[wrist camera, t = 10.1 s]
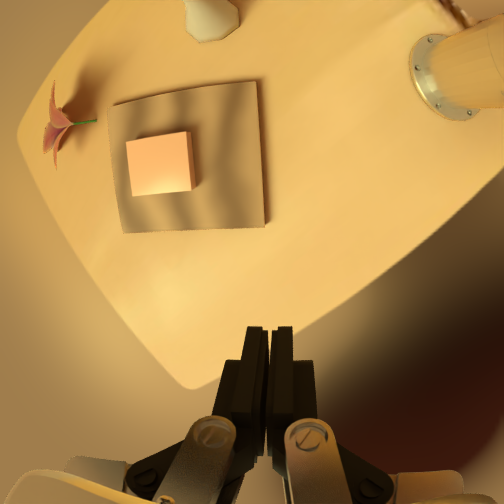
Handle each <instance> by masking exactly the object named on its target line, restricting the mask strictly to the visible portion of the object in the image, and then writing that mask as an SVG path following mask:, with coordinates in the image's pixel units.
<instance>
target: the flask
mask: <svg viewBox="0 0 504 504" xmlns="http://www.w3.org/2000/svg"><path fill="white" fill-rule="evenodd" d="M182 1H184V4H185V7H186V32H188V33H189V34H190V35H191V36H192V37H193V38H194V39H195V40H197V41H198V42H199V43H202V42H208V41H215V40H222V39H223V38H224V37H226V36H227V35H228V34H230V33H231V32H232V31H234V30H235V29H236V28H238V27H239V13H238V8H237V7H235V6H234V5H233V4H232V3H230V2H229V1H228V0H182Z"/></svg>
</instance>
